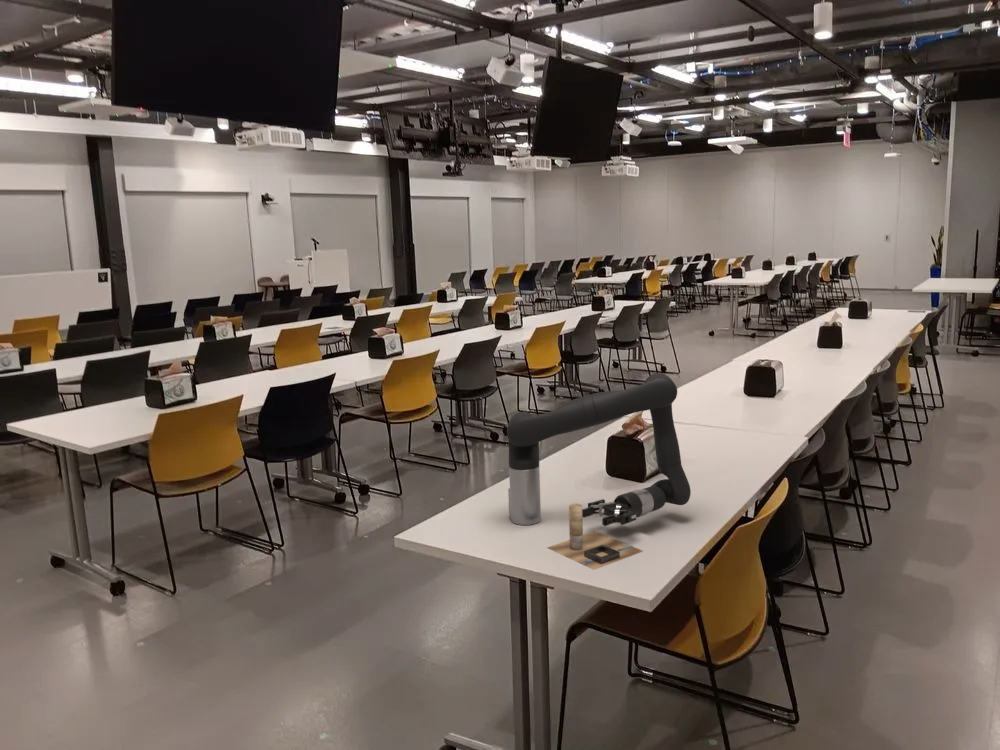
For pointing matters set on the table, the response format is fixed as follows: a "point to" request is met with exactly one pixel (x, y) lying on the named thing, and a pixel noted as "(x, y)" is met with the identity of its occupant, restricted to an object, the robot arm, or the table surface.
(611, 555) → the pilot collar
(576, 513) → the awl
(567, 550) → the board
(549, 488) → the table surface
